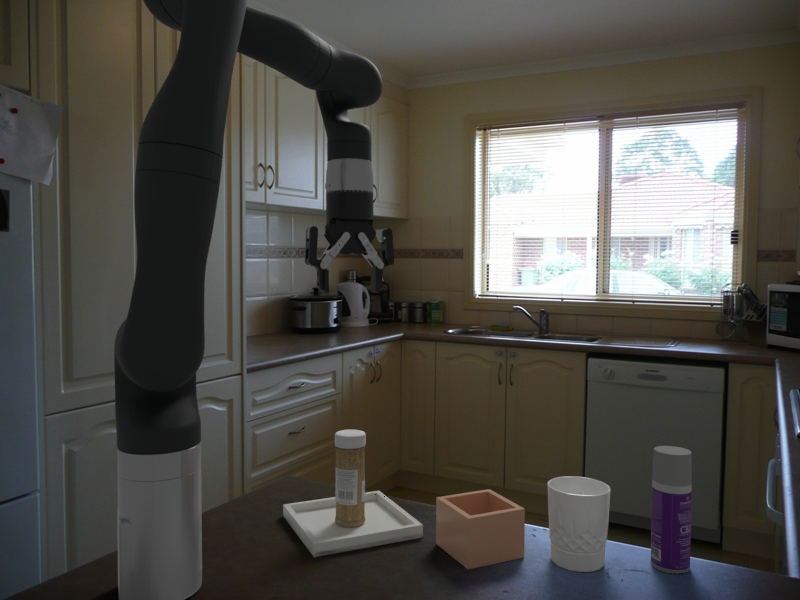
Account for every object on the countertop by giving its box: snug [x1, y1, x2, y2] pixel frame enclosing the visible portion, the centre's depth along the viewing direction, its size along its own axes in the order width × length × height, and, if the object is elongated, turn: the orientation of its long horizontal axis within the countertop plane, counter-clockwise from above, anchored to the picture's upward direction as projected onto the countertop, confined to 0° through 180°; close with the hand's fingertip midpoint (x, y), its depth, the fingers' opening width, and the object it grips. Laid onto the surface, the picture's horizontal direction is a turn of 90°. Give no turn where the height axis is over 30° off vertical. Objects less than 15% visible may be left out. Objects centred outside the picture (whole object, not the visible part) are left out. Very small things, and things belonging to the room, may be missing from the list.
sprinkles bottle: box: [334, 428, 367, 527], centre depth 95 cm, size 5×5×14 cm
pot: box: [435, 488, 526, 570], centre depth 87 cm, size 9×9×6 cm
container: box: [650, 445, 693, 575], centre depth 83 cm, size 5×5×15 cm
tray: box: [282, 490, 424, 558], centre depth 96 cm, size 16×16×2 cm
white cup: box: [547, 475, 612, 573], centre depth 84 cm, size 8×8×10 cm
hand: (350, 292), depth 104 cm, fingers open, 8 cm apart
